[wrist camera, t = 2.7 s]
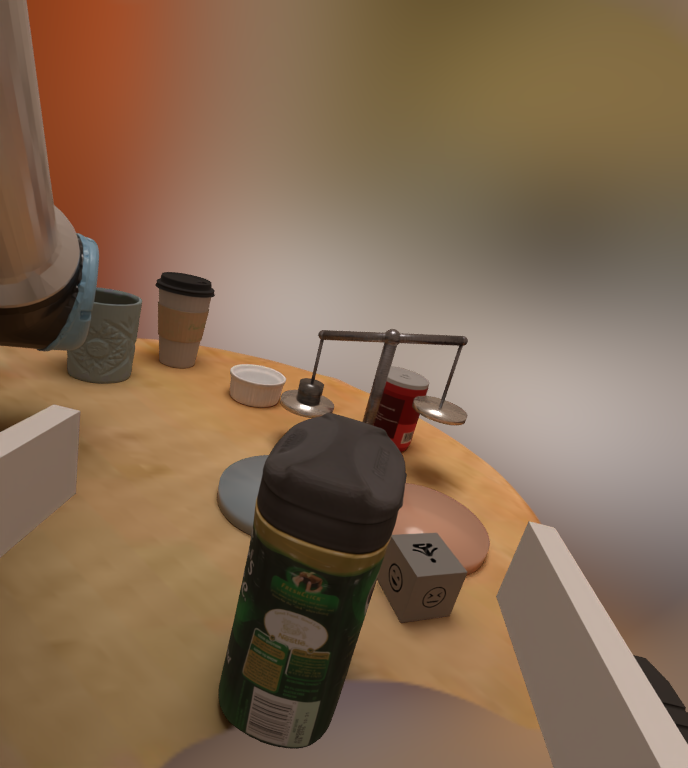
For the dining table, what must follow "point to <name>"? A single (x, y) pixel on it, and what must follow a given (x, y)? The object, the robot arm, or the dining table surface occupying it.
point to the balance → (377, 379)
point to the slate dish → (241, 491)
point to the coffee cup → (181, 317)
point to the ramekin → (256, 385)
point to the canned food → (400, 405)
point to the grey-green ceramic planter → (108, 339)
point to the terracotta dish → (444, 524)
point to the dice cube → (420, 576)
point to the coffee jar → (309, 576)
